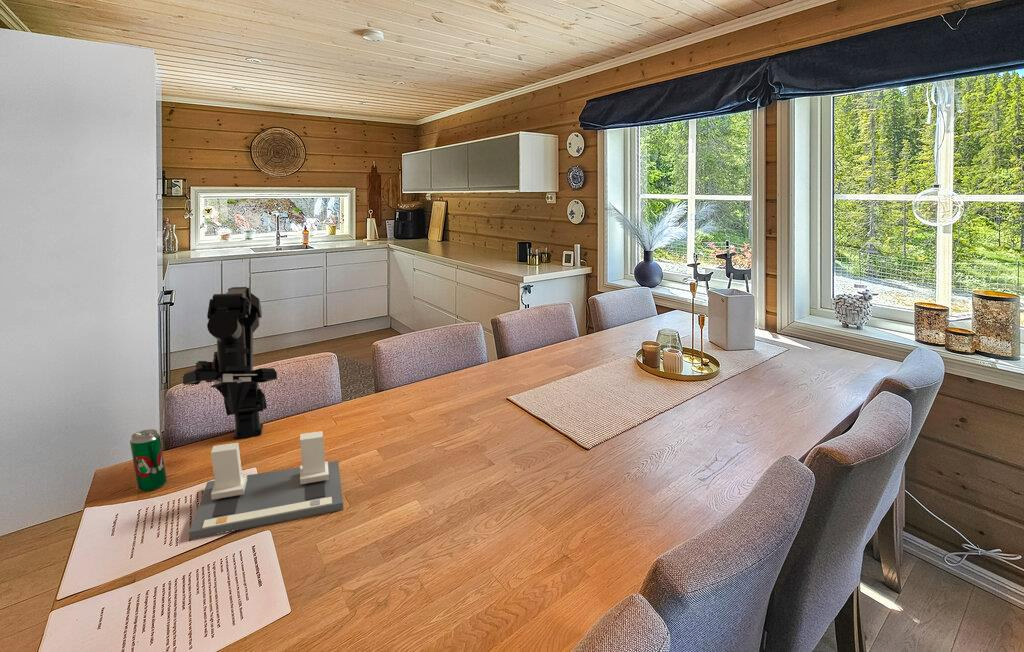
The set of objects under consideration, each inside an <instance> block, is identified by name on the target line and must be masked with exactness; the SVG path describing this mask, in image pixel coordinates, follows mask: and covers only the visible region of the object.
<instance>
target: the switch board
mask: <svg viewBox="0 0 1024 652" xmlns="http://www.w3.org/2000/svg"><path fill="white" fill-rule="evenodd" d="M339 467H340V464H339V461H338V460H335V461H328V471H329V480H323V481H318V482H312V483H306V484H300V466H297V467H291V468H285V469H283V468H282V469H279V470H272V471H265V472H261V473H254V474H252V473H251V474H247V483H246V487H245V492H244V494H242V495H236V496H231V497H225V498H219V499H213V500H212V499H211V493H212V490H213V487H214V484H215V480H210V481H209V480H208V481H207V482H206V485H205V487H204V491H203V492H202V496H201V497H200V498H201V499H200V501H199V503H198V506H197V509H196V512H195V514H194V517H193V520H192V523H191V525H190V528H189V531H188V536H189V540H194V539H200V538H199V537H201V538H205V537H210V536H209V535H211V536H214V535H213V534H216V535H218V534H217V533H221V532H226V531H231V532H233V531H232V530H237V529H239V530H237V531H241V530H246V529H251V528H257V527H261V526H266V525H272V524H276V523H277V524H278V523H281V522H286V521H287V522H288V521H291V520H298V519H303V518H308V517H313V516H317V515H323V514H328V513H333V512H337V511H344V501H343V493H342V492H343V491H342V485H341V475H340V474H341V473H340V468H339ZM226 533H227V532H226ZM221 534H222V533H221Z"/></svg>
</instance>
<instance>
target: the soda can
mask: <svg viewBox="0 0 1024 652" xmlns="http://www.w3.org/2000/svg"><path fill="white" fill-rule="evenodd" d="M130 436H131V439H130V440H129V443H130V444H129V445H130V451H131V456H132V461H133V468H134V473H135V474H134V475H135V479H136V484H137V489H138V490H140V491H143V492H151V491H155V490H158V489H160V488H162V487H164V486H165V484H166V483H167V482H168V477H167V472H166V465H165V459H164V453H163V447H162V438H161V434H159V433H158V430H156V429H143V430H140V431H136V432H135V433H133V434H132V435H130Z"/></svg>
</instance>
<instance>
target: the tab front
mask: <svg viewBox="0 0 1024 652" xmlns="http://www.w3.org/2000/svg"><path fill="white" fill-rule="evenodd" d="M210 455H211V457H210V458H211V464H212V470H213V478H214V479H213V481H215V484H214V487H213V490H212V493H211V499H212V500H213V499H219V498H225V497H231V496H236V495H242V494H244V492H245V487H246V483H247V475H248V474H243V469H242V463H241V453H240V444H239V442H233V443H226V444H218V445H213V446H212V449H211V452H210Z"/></svg>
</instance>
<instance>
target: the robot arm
mask: <svg viewBox="0 0 1024 652" xmlns="http://www.w3.org/2000/svg"><path fill="white" fill-rule="evenodd" d="M262 315H263V314H262V305H261V302H260V298H259V297H257V296H256V295H255V294H253V293H252V292H251V288H250V287H247V286H235V287H233V286H231V287H230V288H228V290H227V292H226V293H214V294H212V298H210V299H209V303H208V309H207V315H206V316H207V317H206V318H207V320H208V322H207V325H206V326H207V327H206V328H207V331H208V333H209V334H210V335H211V336H213V338H214V339H216V351H214V354H213V359H212V361H207V360H198V361H197V362H196V363H195V369H194V368H193V369H191V370H187V371H186V372H185V373H184V374H183V377H182V385H183V386H189V385H190V386H193V385H196V386H197V385H199V384H200V383H201V382H206V383H212V382H213V384H212V385H210V387H211V388H212V389H216V390H217V391H218V392H219V393H220V394H221V396H222V397H223V402H224V409H225V413H226V416H231V415H232V416H233V415H234V423H235V424H234V426H235V430H234V433H233V436H232V437H233V439H241V438H248V437H255V436H261V435H262V434H263V429H264V423H261V420H260V412H264V410H266V409H268V404H267V399H266V395H265V393H264V392H263V390H262V388H260V386H259V384H260V383H267V382H272V381H275V380H276V381H277V380H278V372H277V371H276V369H275V368H273V367H272V368H266V367H264V368H262V367H261V368H257V369H254V333H255V331H256V330H257V329H258V328H259V326H260V319H262V317H263V316H262Z"/></svg>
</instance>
